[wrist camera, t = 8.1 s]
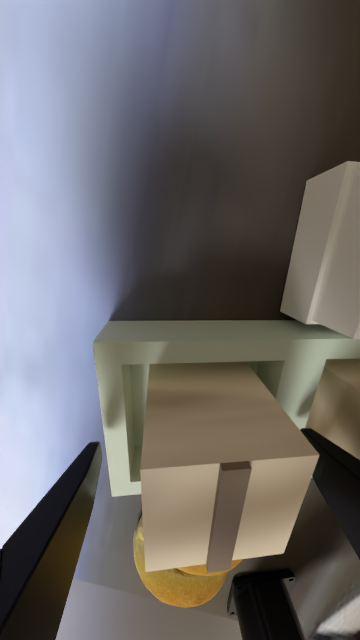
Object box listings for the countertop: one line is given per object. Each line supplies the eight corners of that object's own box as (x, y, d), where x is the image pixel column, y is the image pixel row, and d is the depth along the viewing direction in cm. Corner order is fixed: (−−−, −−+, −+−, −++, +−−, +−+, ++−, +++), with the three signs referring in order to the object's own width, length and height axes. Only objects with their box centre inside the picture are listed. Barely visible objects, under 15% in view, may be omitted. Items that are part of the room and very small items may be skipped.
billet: (231, 427, 12) (287, 561, 7) (151, 432, 12) (145, 581, 6) (242, 357, 11) (325, 462, 5) (149, 359, 10) (139, 478, 5)
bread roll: (258, 484, 16) (289, 557, 12) (209, 547, 18) (222, 625, 14) (161, 465, 14) (162, 544, 10) (121, 538, 16) (110, 625, 13)
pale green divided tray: (368, 433, 15) (408, 468, 12) (120, 451, 13) (112, 496, 10) (420, 319, 12) (486, 336, 9) (108, 320, 10) (92, 342, 7)
